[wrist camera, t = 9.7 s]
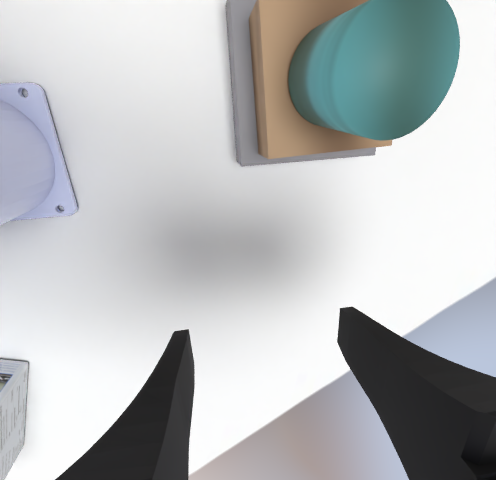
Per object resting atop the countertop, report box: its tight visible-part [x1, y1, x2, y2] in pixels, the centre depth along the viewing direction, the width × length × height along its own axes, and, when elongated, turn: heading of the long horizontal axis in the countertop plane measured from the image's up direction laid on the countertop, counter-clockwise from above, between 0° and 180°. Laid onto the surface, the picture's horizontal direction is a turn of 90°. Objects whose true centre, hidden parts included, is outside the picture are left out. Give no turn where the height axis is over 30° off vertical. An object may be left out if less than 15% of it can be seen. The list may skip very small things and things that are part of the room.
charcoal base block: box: [226, 0, 376, 166], centre depth 18 cm, size 9×9×3 cm
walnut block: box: [249, 0, 392, 159], centre depth 16 cm, size 7×7×3 cm
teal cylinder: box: [288, 0, 460, 141], centre depth 12 cm, size 4×4×5 cm
